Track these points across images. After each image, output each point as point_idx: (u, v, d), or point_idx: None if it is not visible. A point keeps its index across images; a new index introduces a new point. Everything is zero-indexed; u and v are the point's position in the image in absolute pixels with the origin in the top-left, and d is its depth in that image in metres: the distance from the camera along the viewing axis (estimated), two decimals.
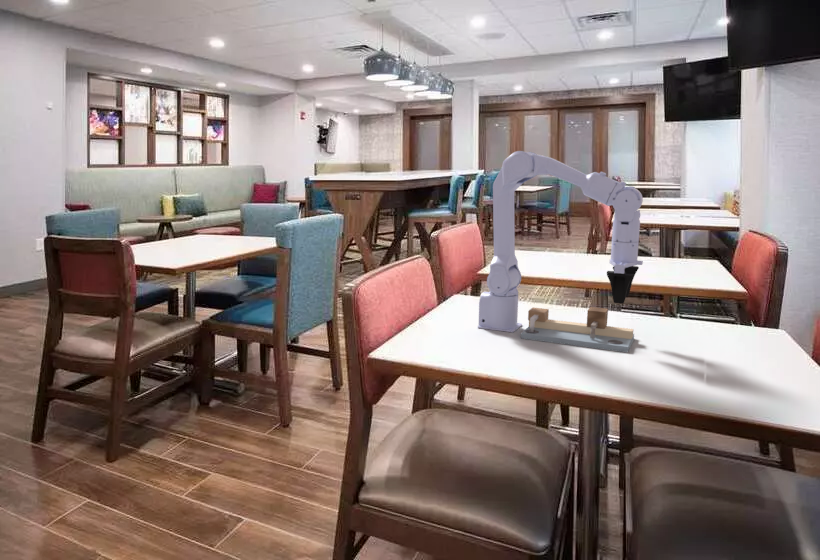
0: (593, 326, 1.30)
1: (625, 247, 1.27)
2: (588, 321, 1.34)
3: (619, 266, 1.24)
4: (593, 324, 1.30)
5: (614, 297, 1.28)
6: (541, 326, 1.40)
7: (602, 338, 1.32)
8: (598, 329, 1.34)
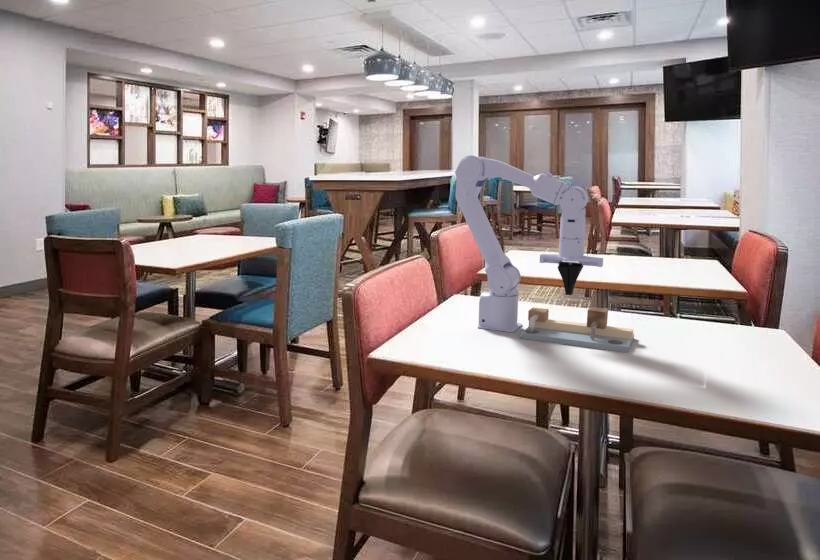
0: (593, 326, 1.30)
1: (559, 242, 1.36)
2: (588, 321, 1.34)
3: None
4: (593, 324, 1.30)
5: None
6: (541, 326, 1.40)
7: (602, 338, 1.32)
8: (598, 329, 1.34)
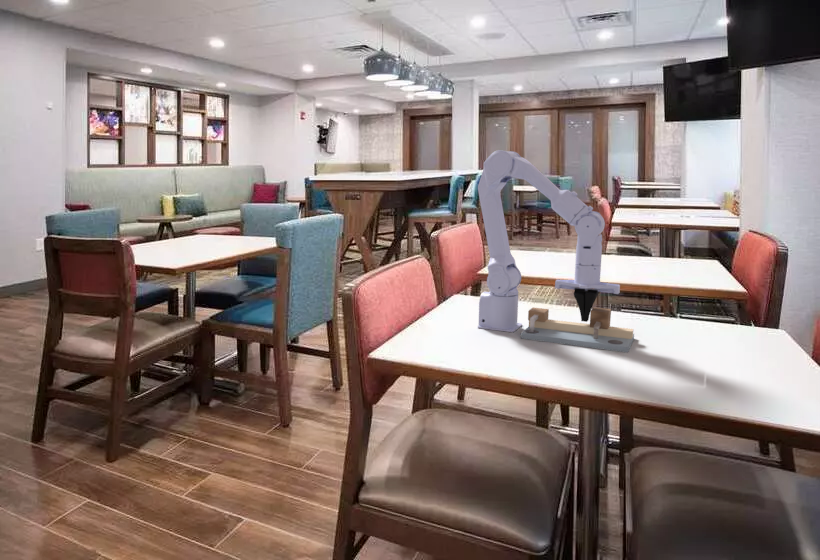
0: (596, 326, 1.29)
1: (575, 268, 1.35)
2: (591, 321, 1.34)
3: None
4: (596, 324, 1.30)
5: None
6: (541, 326, 1.40)
7: (602, 338, 1.32)
8: (598, 329, 1.34)
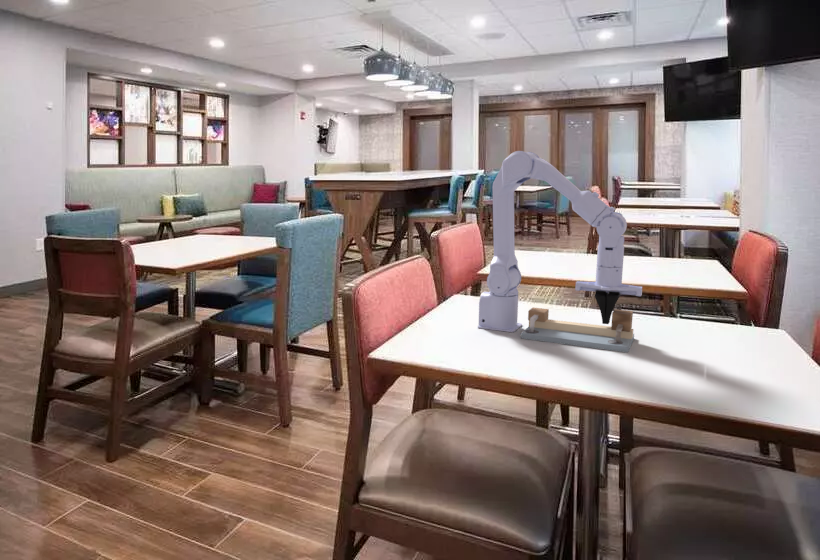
0: (619, 329, 1.27)
1: (596, 270, 1.33)
2: (613, 324, 1.31)
3: (576, 283, 1.36)
4: (619, 327, 1.28)
5: None
6: (541, 326, 1.40)
7: (602, 338, 1.32)
8: (598, 329, 1.34)
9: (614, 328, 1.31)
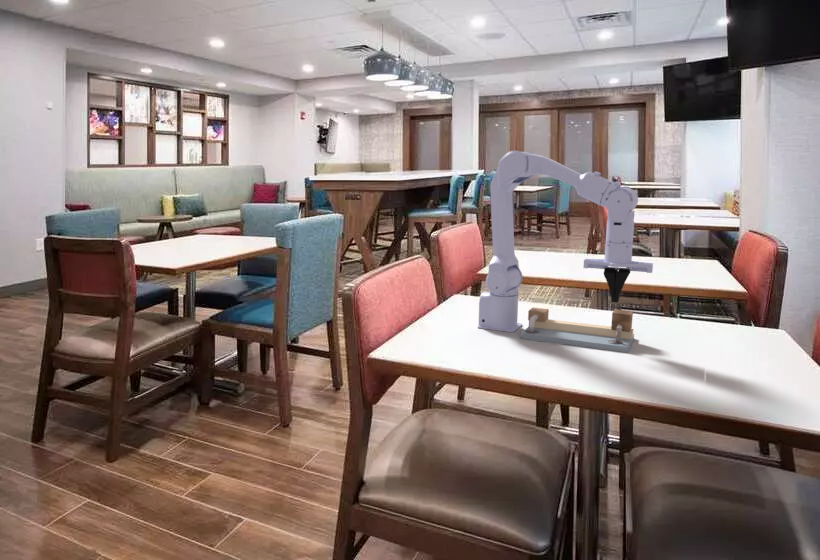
0: (619, 329, 1.27)
1: (605, 246, 1.28)
2: (613, 324, 1.31)
3: None
4: (619, 327, 1.28)
5: None
6: (541, 326, 1.40)
7: (602, 338, 1.32)
8: (598, 329, 1.34)
9: (614, 328, 1.31)
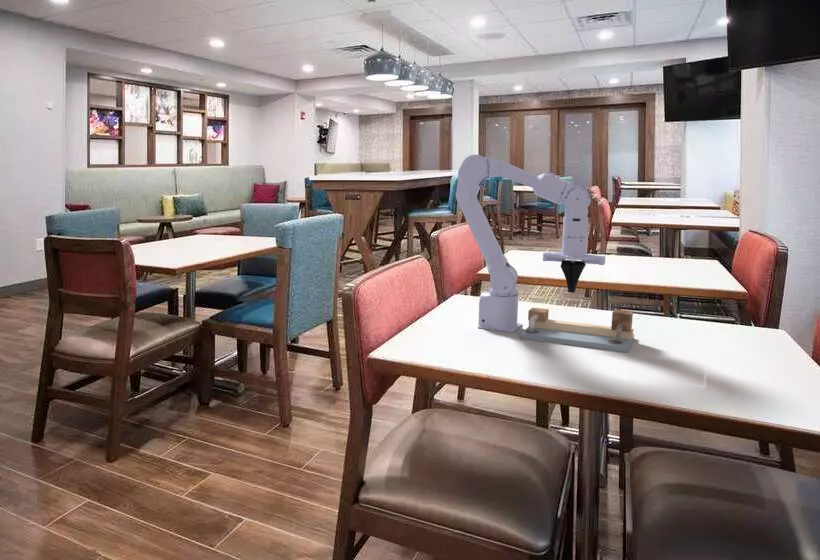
0: (619, 329, 1.27)
1: (562, 240, 1.39)
2: (613, 324, 1.31)
3: None
4: (619, 327, 1.28)
5: None
6: (541, 326, 1.40)
7: (602, 338, 1.32)
8: (598, 329, 1.34)
9: (614, 328, 1.31)
